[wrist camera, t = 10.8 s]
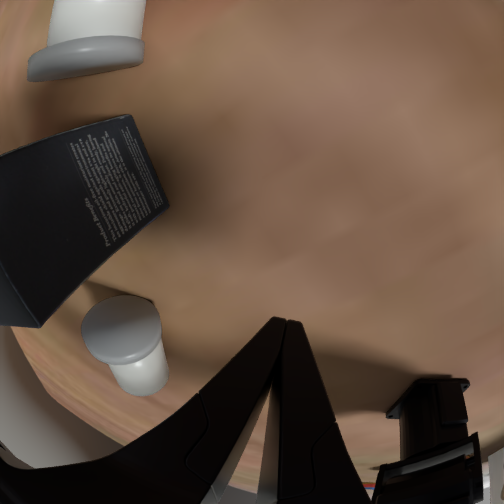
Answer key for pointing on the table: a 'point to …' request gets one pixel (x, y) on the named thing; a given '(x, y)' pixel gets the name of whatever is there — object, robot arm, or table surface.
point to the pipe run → (86, 63)
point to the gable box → (496, 477)
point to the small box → (69, 213)
